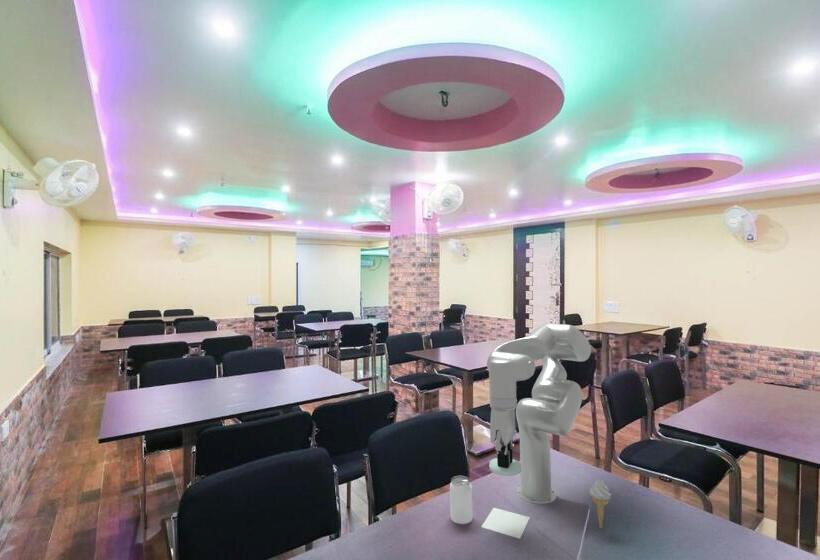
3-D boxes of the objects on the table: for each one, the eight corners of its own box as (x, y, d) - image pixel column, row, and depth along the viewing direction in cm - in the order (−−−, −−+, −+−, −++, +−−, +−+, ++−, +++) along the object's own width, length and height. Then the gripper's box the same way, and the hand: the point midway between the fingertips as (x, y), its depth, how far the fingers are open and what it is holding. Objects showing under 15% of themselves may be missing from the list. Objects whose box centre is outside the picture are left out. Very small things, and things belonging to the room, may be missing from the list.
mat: (493, 510, 125) (493, 507, 125) (529, 520, 119) (529, 517, 119) (481, 530, 115) (481, 526, 115) (519, 542, 110) (519, 538, 109)
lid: (494, 458, 123) (494, 442, 123) (524, 464, 119) (524, 447, 119) (485, 471, 115) (484, 454, 115) (516, 478, 111) (516, 460, 111)
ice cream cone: (610, 524, 116) (609, 472, 116) (613, 536, 111) (612, 481, 111) (589, 521, 118) (588, 470, 118) (591, 532, 113) (589, 479, 113)
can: (472, 528, 116) (471, 486, 116) (449, 526, 117) (448, 484, 117) (473, 515, 122) (472, 475, 122) (451, 513, 124) (450, 474, 124)
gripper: (499, 392, 126) (501, 451, 126) (480, 408, 112) (483, 474, 112) (523, 395, 122) (525, 455, 122) (507, 412, 108) (509, 480, 108)
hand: (505, 463), depth 117 cm, fingers closed on lid, 2 cm apart
